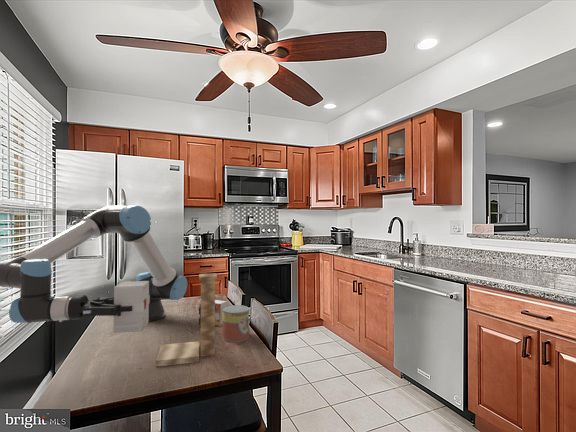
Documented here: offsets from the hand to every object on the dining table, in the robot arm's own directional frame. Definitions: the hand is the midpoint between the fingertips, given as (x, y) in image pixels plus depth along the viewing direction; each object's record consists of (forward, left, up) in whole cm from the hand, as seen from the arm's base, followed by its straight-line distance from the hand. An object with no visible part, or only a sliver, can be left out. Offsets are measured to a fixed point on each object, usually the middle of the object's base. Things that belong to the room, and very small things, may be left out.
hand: (146, 303), depth 107 cm
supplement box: (-3, -3, -8) cm, 9 cm away
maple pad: (+2, +12, -22) cm, 25 cm away
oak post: (+10, +19, -22) cm, 30 cm away
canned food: (+8, +37, -22) cm, 44 cm away
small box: (-11, +46, -22) cm, 52 cm away
